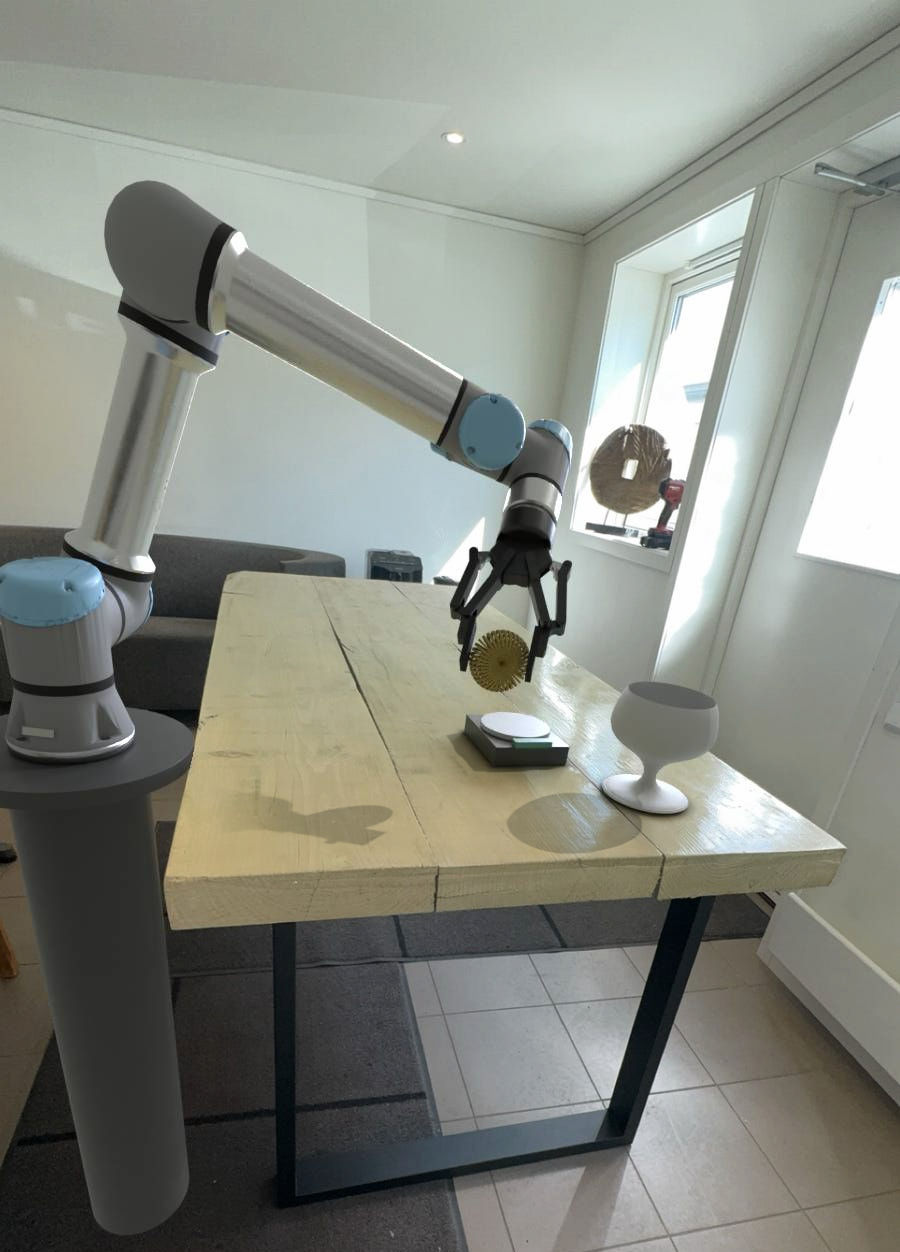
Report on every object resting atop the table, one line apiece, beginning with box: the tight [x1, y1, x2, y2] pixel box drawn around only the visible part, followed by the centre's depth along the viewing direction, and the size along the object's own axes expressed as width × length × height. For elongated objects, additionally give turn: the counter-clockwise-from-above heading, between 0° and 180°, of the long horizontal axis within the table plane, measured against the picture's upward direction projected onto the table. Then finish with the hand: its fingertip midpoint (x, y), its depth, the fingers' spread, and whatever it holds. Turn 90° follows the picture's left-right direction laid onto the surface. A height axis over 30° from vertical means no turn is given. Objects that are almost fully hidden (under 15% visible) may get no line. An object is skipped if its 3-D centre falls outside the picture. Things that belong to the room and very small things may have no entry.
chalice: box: [601, 681, 720, 814], centre depth 90 cm, size 14×14×15 cm
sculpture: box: [468, 629, 530, 693], centre depth 84 cm, size 8×4×8 cm, turn 102°
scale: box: [463, 711, 570, 767], centre depth 104 cm, size 14×12×4 cm
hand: (495, 671), depth 81 cm, fingers closed on sculpture, 7 cm apart
